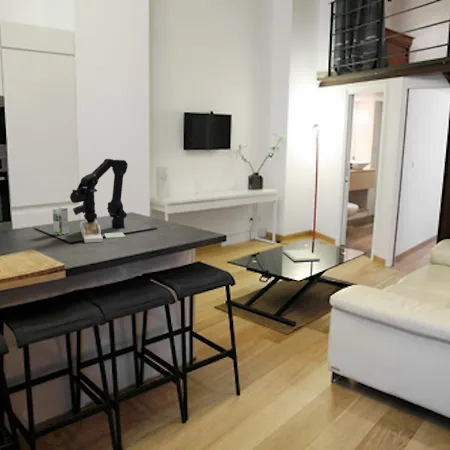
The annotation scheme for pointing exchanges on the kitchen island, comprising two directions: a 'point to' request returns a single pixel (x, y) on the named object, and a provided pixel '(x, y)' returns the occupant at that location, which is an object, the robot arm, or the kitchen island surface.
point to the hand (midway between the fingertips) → (90, 228)
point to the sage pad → (114, 235)
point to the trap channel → (91, 237)
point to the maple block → (91, 228)
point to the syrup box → (60, 220)
